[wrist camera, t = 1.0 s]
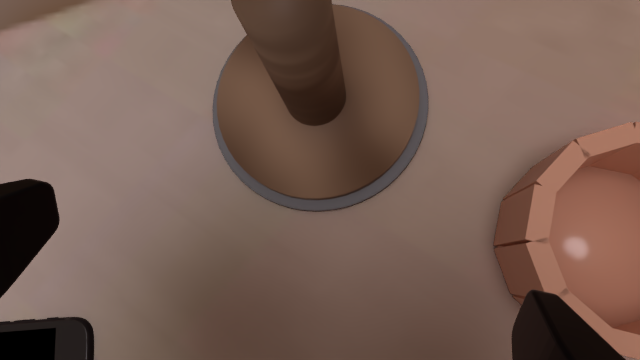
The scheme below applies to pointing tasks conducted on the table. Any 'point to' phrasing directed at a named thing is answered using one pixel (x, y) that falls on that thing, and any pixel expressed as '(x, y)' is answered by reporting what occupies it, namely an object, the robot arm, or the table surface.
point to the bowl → (580, 233)
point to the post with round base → (316, 97)
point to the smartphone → (47, 339)
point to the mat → (353, 197)
